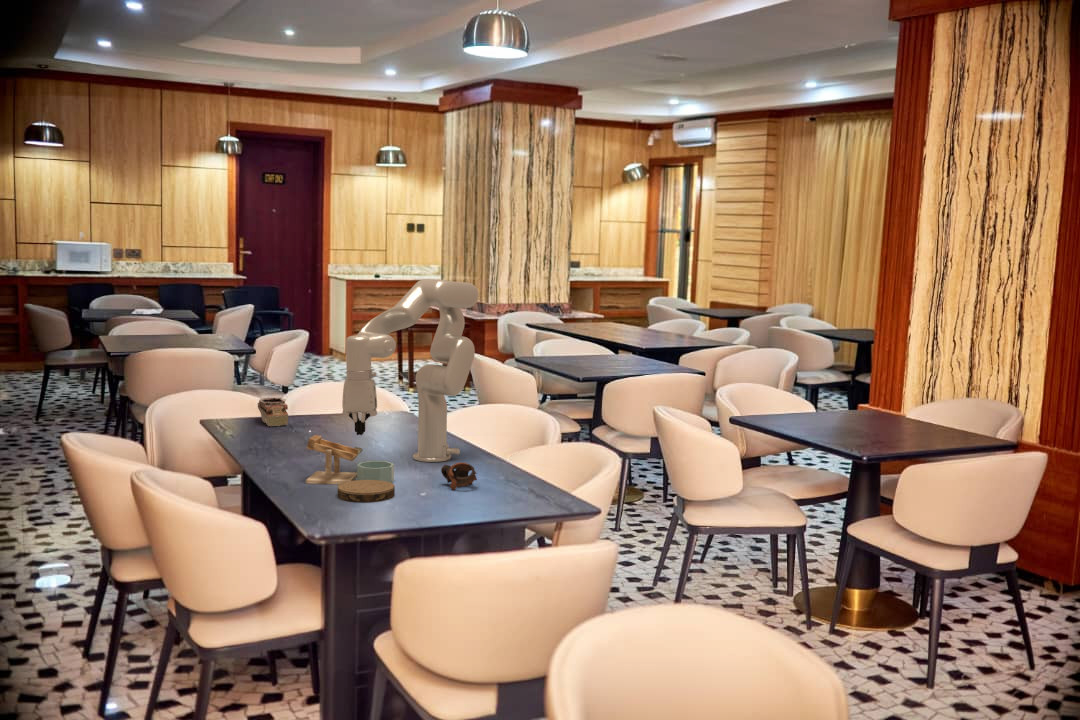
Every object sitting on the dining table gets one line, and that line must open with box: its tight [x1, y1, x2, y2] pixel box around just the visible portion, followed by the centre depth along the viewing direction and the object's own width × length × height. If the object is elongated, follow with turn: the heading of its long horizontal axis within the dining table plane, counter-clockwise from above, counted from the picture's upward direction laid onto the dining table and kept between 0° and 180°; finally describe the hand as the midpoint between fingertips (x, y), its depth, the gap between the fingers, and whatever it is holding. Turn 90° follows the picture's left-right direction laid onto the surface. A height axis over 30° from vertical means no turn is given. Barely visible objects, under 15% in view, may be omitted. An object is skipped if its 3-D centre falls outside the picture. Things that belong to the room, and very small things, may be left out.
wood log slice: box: [337, 479, 396, 504], centre depth 283 cm, size 16×16×3 cm
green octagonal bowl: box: [356, 460, 395, 484], centre depth 301 cm, size 10×10×5 cm
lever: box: [306, 434, 363, 462], centre depth 304 cm, size 14×16×3 cm
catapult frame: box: [305, 442, 357, 485], centre depth 301 cm, size 13×12×10 cm
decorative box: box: [257, 397, 289, 427], centre depth 394 cm, size 13×20×10 cm, turn 20°
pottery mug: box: [440, 462, 478, 491], centre depth 297 cm, size 12×9×8 cm
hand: (360, 434), depth 311 cm, fingers closed
